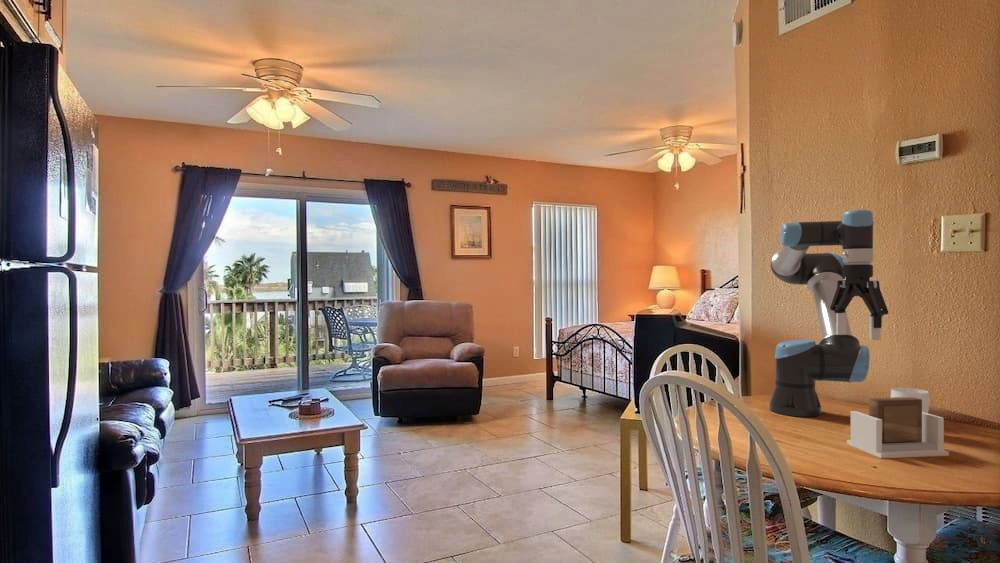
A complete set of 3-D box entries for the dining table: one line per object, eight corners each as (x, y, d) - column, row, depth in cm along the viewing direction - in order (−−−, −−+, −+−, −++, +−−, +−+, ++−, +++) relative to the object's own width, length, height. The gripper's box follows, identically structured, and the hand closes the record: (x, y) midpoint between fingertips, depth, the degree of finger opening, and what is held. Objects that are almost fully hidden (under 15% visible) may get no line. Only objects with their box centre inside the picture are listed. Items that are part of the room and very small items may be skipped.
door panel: (869, 444, 146) (869, 398, 146) (912, 442, 148) (912, 396, 147) (878, 448, 143) (878, 400, 143) (922, 446, 144) (922, 399, 144)
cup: (936, 437, 155) (936, 394, 155) (899, 436, 157) (899, 393, 157) (919, 429, 164) (919, 387, 164) (884, 427, 166) (884, 386, 166)
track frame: (846, 443, 150) (846, 409, 150) (909, 441, 152) (909, 408, 152) (880, 458, 139) (880, 421, 138) (948, 455, 140) (949, 419, 140)
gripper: (817, 264, 176) (817, 332, 176) (877, 263, 151) (877, 342, 152) (840, 264, 177) (840, 332, 177) (904, 262, 152) (903, 341, 152)
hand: (857, 337), depth 164 cm, fingers open, 13 cm apart
